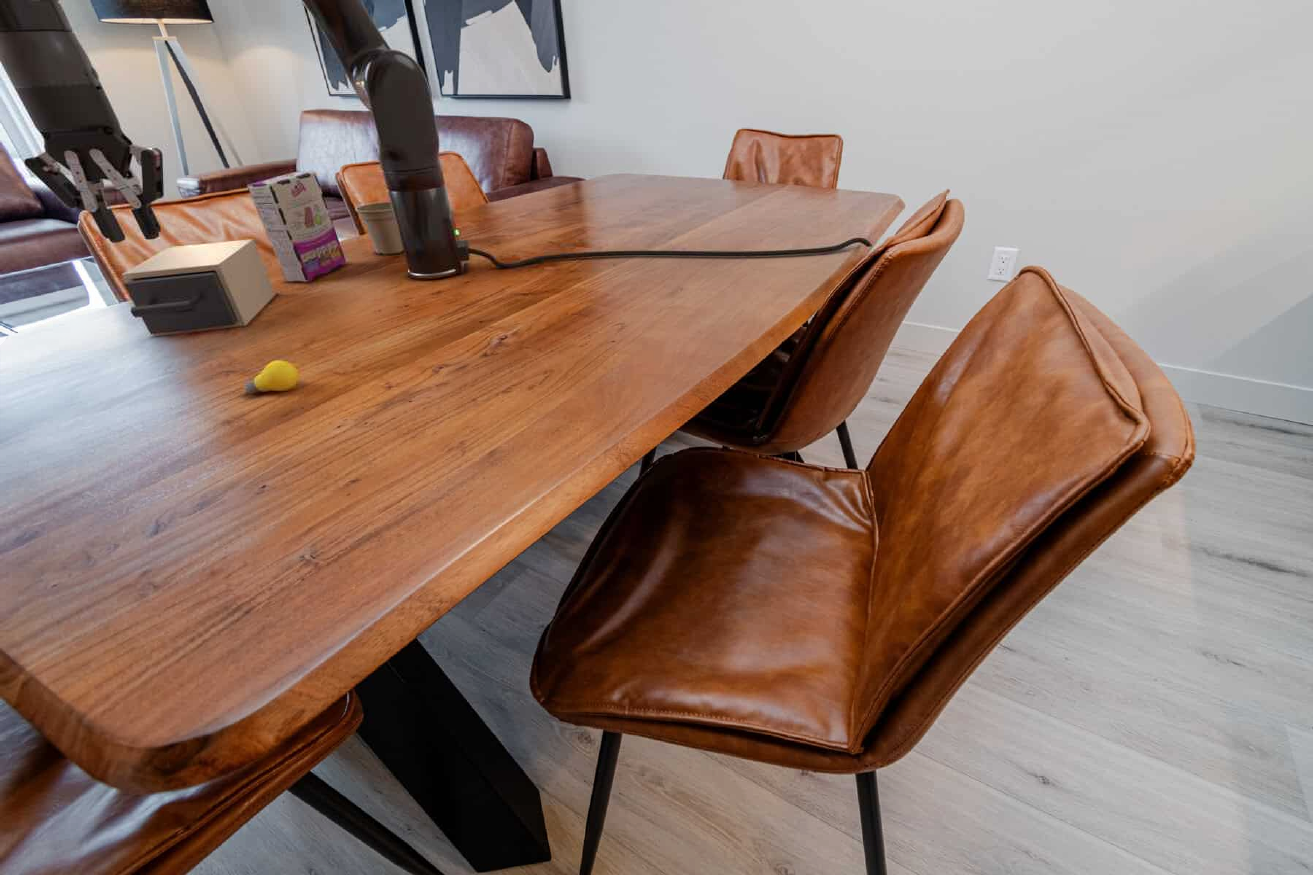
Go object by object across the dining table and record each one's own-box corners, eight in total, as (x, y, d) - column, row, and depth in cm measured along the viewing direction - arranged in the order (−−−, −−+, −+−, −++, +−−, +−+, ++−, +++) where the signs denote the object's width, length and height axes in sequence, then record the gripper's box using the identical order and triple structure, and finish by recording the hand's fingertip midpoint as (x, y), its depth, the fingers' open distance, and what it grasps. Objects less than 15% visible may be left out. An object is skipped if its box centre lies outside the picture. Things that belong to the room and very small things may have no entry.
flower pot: (406, 242, 126) (395, 199, 122) (425, 249, 120) (414, 204, 116) (361, 252, 121) (347, 207, 116) (379, 260, 115) (365, 213, 110)
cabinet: (245, 325, 88) (218, 264, 83) (154, 336, 86) (121, 274, 81) (275, 294, 100) (253, 238, 95) (196, 303, 98) (169, 247, 93)
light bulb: (304, 389, 69) (282, 369, 66) (256, 409, 69) (232, 390, 66) (306, 370, 71) (284, 349, 68) (259, 389, 71) (236, 370, 68)
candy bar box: (324, 264, 115) (292, 171, 106) (347, 264, 114) (317, 171, 105) (283, 282, 106) (244, 183, 97) (307, 283, 105) (270, 182, 96)
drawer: (221, 337, 82) (197, 285, 78) (133, 348, 80) (103, 295, 76) (264, 294, 97) (245, 249, 93) (190, 303, 95) (168, 257, 91)
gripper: (-42, 87, 62) (55, 253, 72) (110, 79, 65) (185, 241, 74) (6, 85, 69) (90, 238, 78) (143, 77, 71) (209, 227, 80)
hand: (136, 239), depth 76 cm, fingers open, 3 cm apart
